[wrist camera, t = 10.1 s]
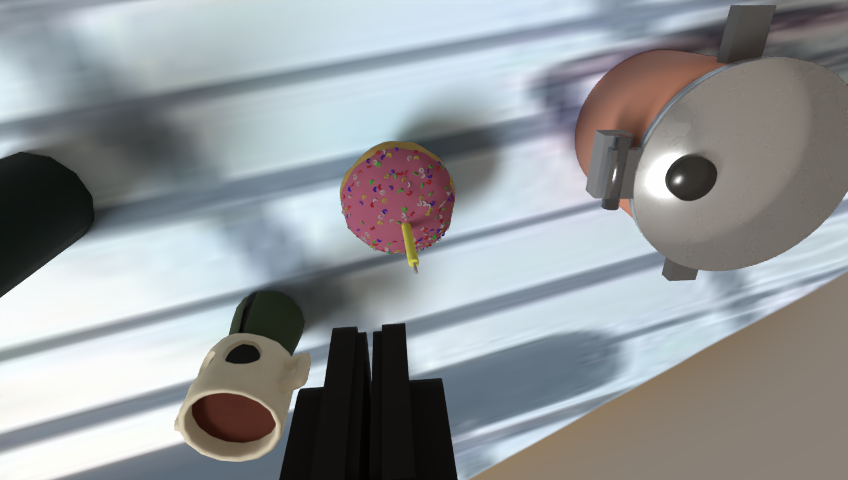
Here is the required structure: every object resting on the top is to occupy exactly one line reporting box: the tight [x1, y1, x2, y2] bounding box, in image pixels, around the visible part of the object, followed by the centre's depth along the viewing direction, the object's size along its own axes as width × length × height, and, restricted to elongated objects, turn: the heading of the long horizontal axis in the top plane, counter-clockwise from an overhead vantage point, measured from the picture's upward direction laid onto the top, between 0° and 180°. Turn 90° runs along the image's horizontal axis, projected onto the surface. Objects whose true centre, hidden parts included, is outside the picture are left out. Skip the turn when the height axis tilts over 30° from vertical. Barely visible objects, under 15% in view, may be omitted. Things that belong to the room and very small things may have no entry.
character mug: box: [174, 291, 311, 462], centre depth 38 cm, size 11×7×13 cm, turn 112°
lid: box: [600, 56, 848, 271], centre depth 28 cm, size 13×15×2 cm
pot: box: [575, 5, 776, 281], centre depth 34 cm, size 18×14×10 cm
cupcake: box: [340, 141, 455, 274], centre depth 34 cm, size 9×8×12 cm
